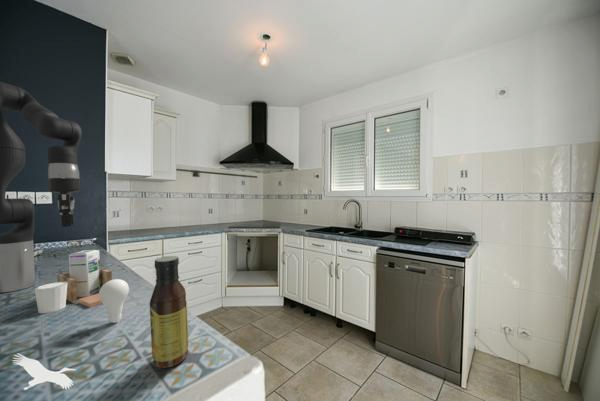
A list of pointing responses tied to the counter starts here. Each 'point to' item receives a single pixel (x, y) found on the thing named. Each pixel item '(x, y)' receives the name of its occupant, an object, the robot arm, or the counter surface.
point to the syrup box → (85, 272)
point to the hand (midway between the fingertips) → (68, 225)
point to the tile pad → (91, 300)
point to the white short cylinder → (51, 297)
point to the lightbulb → (114, 298)
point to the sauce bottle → (168, 315)
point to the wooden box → (71, 284)
